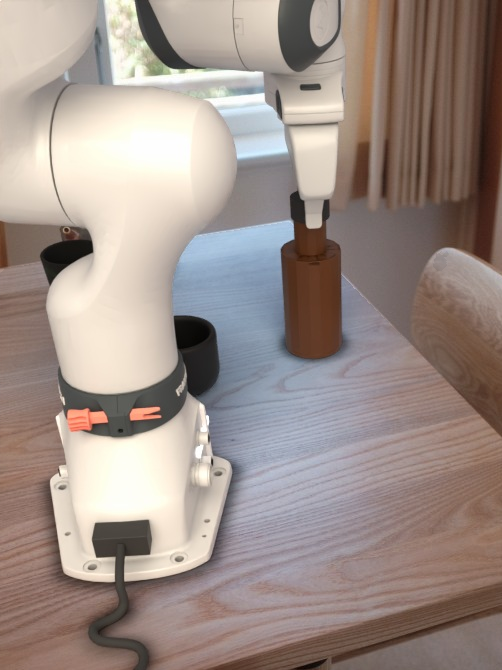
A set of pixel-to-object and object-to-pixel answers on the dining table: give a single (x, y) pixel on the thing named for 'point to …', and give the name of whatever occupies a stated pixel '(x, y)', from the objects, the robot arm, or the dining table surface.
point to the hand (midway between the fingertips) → (309, 210)
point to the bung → (299, 208)
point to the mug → (197, 351)
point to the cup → (63, 256)
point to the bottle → (312, 293)
